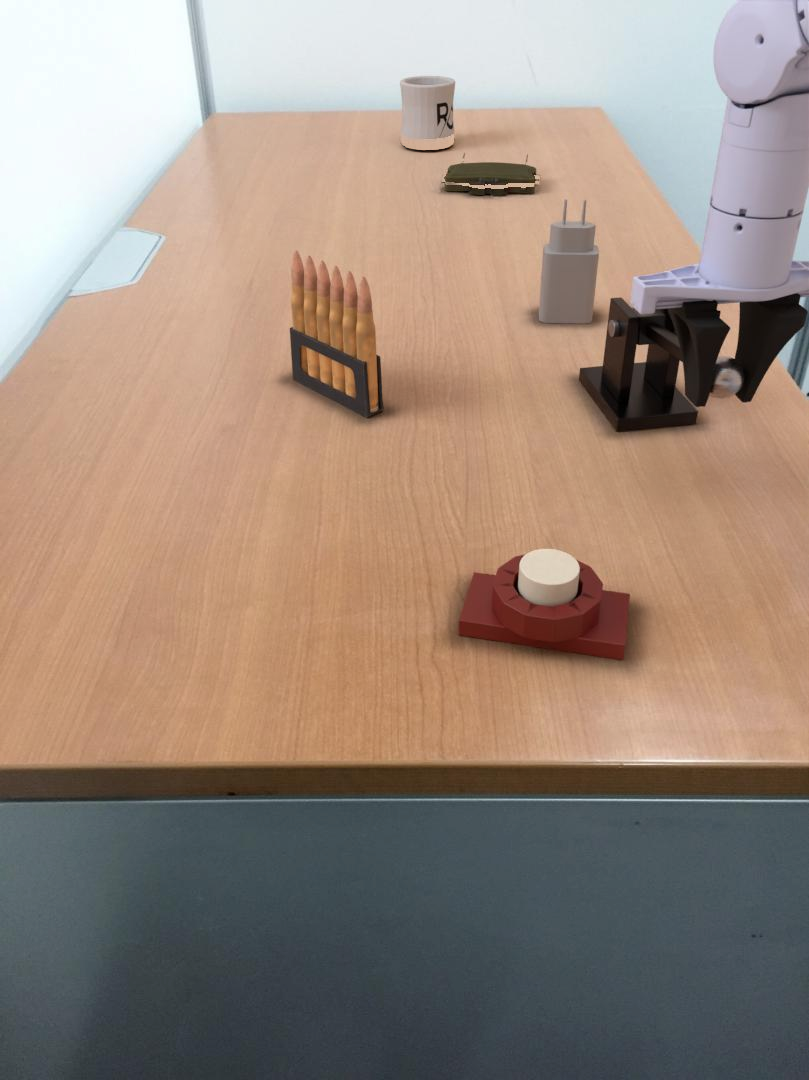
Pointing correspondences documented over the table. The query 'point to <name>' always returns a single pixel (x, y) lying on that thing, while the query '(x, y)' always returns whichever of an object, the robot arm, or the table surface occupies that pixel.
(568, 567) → the button
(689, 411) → the black pivot stand
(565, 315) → the power adapter
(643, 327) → the lever
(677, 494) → the table surface
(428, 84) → the mug
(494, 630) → the block
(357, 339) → the ammunition clip
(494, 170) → the landmine
